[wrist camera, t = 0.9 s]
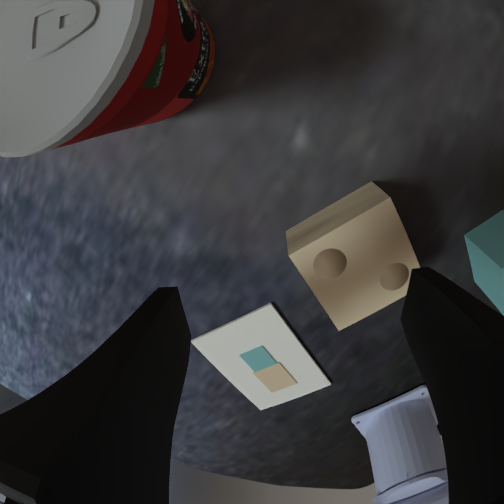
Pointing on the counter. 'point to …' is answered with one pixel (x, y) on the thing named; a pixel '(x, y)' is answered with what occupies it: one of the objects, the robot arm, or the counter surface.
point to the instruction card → (262, 358)
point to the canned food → (95, 68)
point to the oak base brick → (354, 255)
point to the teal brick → (488, 257)
